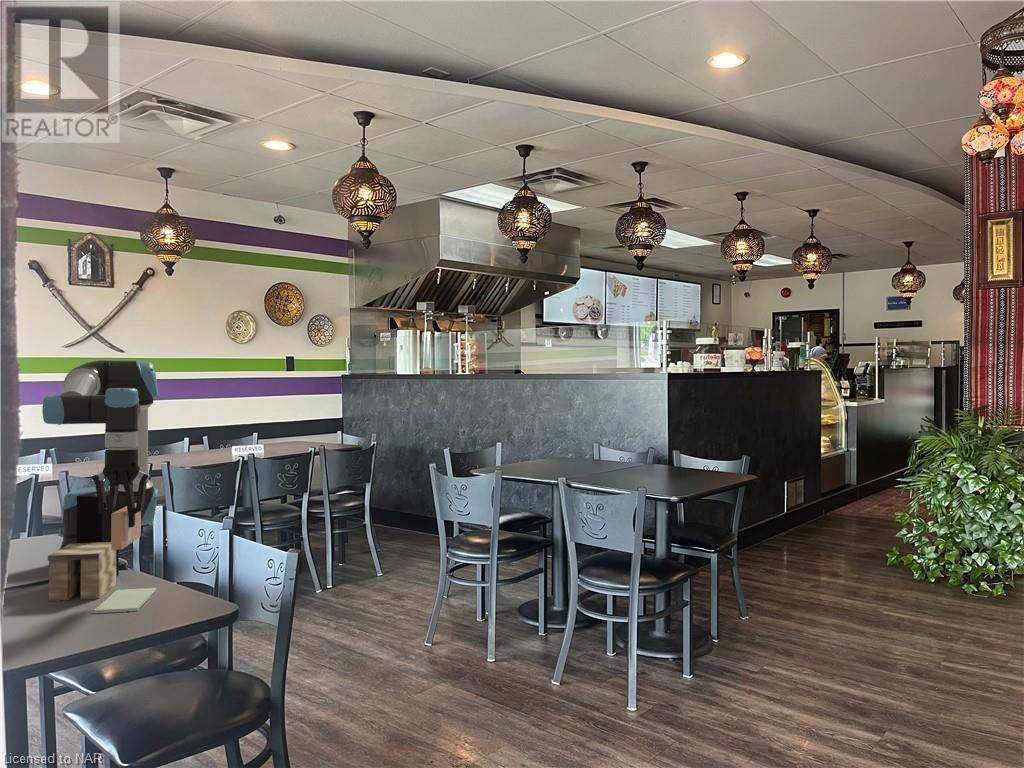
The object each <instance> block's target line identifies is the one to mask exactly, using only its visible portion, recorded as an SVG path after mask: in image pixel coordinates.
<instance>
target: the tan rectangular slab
mask: <svg viewBox="0 0 1024 768" xmlns="http://www.w3.org/2000/svg"><path fill="white" fill-rule="evenodd" d="M135 508H136V503H135ZM127 513H128V511H127V506H126V507H124V508H122V509H120V510H118V511H116V512H114V513H112V534H111V550H123V549H125V548H126V547H128V546H129V545H130V544H132V543H133V542H134V541H136V540H137V539H139V538H140V537H142V533H141V532H142V527H141V526H142V525H141V511H140V512H138V513H136V514H135V526H134V527H131V539H130V540H129V541H125V515H127Z"/></svg>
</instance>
